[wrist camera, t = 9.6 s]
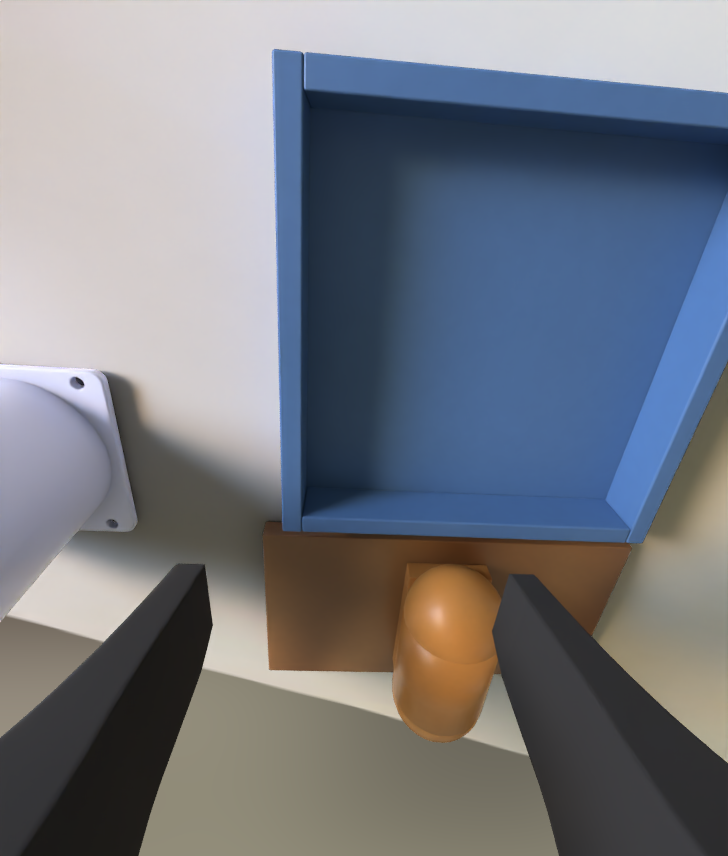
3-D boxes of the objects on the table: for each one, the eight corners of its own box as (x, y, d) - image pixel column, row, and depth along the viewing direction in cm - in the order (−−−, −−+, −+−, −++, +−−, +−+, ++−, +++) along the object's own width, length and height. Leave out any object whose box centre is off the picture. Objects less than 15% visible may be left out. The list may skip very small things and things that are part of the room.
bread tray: (290, 493, 20) (282, 531, 18) (286, 77, 13) (271, 47, 11) (609, 506, 21) (643, 544, 19) (765, 121, 14) (851, 103, 12)
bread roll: (385, 671, 25) (391, 762, 21) (403, 541, 20) (417, 624, 16) (463, 672, 25) (485, 763, 21) (498, 544, 21) (534, 627, 17)
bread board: (271, 654, 25) (269, 670, 25) (266, 521, 21) (262, 534, 20) (566, 660, 26) (573, 676, 26) (621, 534, 22) (633, 547, 21)
